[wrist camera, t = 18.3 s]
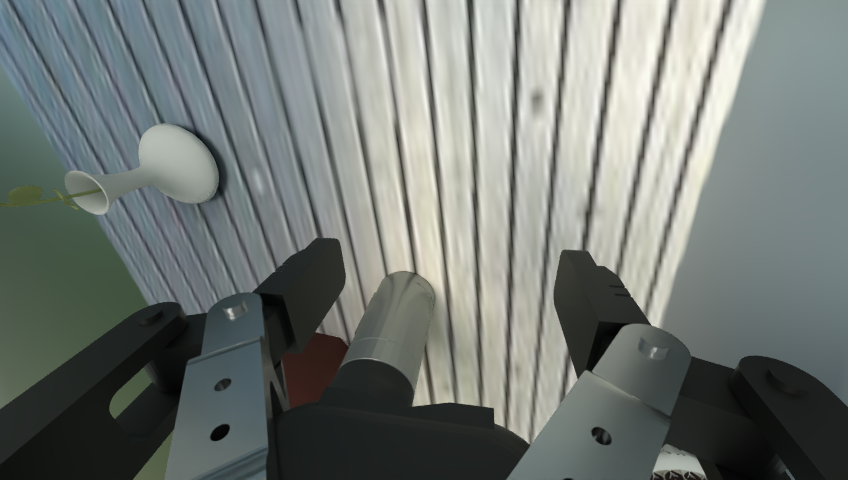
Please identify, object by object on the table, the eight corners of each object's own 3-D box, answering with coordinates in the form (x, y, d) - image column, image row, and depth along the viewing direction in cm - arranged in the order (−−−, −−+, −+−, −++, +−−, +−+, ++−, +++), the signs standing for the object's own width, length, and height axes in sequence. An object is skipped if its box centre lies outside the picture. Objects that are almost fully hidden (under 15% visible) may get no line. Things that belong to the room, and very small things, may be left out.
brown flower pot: (317, 297, 54) (205, 446, 32) (406, 372, 59) (362, 544, 37) (251, 355, 65) (133, 497, 43) (332, 414, 70) (263, 568, 48)
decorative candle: (583, 308, 46) (674, 514, 25) (648, 322, 46) (800, 547, 24) (561, 351, 51) (622, 558, 29) (620, 364, 50) (727, 587, 28)
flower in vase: (225, 137, 43) (-37, 199, 21) (227, 209, 49) (20, 317, 27) (137, 106, 43) (-215, 137, 21) (148, 182, 49) (-122, 267, 27)
